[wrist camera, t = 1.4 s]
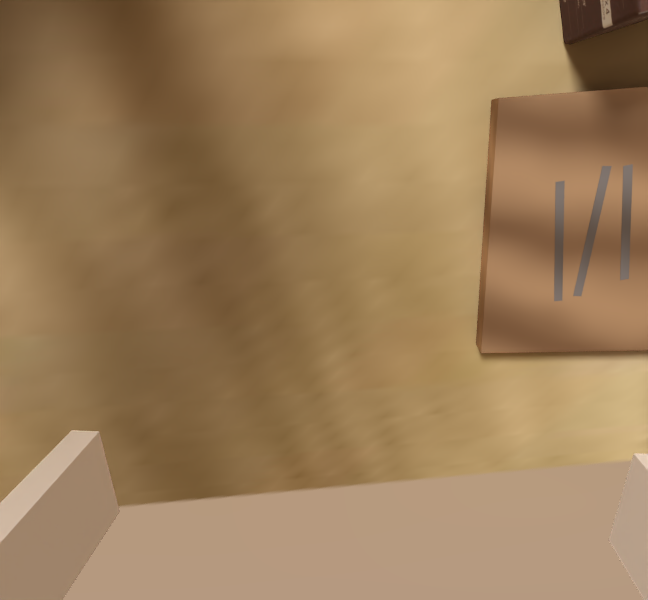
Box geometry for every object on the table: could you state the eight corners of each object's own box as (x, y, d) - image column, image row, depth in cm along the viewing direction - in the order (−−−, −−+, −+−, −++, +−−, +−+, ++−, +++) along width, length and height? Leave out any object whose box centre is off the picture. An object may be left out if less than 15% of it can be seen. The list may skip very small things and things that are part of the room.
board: (491, 99, 26) (498, 98, 24) (733, 80, 24) (756, 78, 23) (476, 343, 31) (481, 353, 30) (670, 339, 30) (685, 349, 29)
